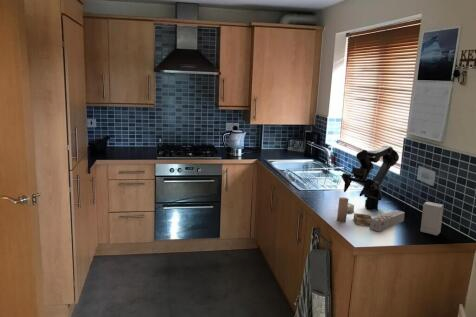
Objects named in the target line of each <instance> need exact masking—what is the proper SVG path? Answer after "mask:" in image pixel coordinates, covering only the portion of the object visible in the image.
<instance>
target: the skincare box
mask: <svg viewBox="0 0 476 317" xmlns="http://www.w3.org/2000/svg"><path fill="white" fill-rule="evenodd" d="M421 213H422V214H421V222H420V232H422V233H426V234H429V235H433V236H439V234H440V233H441V229H442V223H443V222H442V221H443V213H444V204H441V203H438V202H437V203H435V202H430V201H426V202H424V203H423V204H422V212H421Z"/></svg>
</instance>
